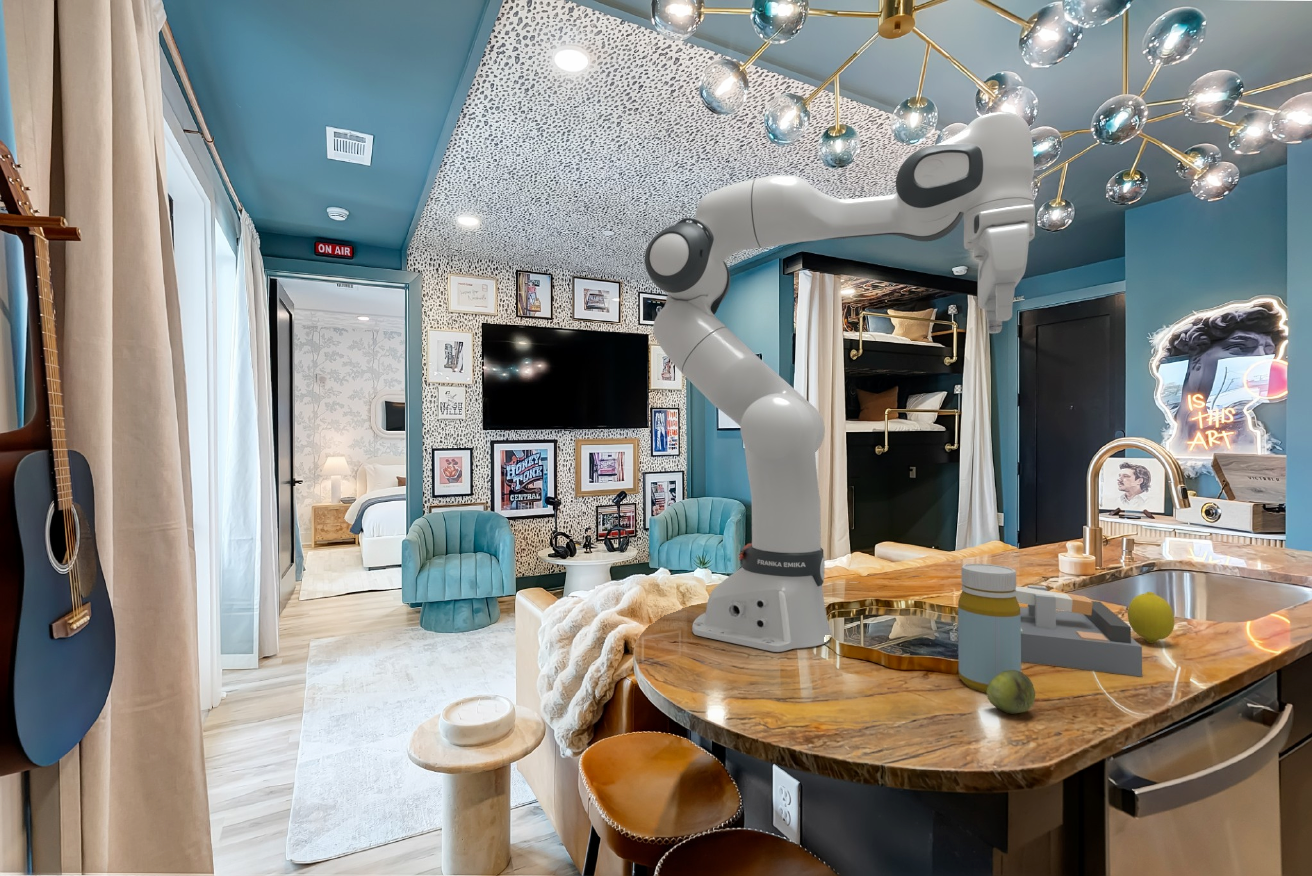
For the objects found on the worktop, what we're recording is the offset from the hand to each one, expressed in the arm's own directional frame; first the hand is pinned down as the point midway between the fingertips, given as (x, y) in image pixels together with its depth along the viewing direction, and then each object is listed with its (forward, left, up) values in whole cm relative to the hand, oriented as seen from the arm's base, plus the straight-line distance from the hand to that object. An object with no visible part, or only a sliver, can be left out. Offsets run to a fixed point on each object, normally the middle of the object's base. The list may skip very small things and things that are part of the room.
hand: (999, 326), depth 84 cm
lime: (-1, -18, -48) cm, 51 cm away
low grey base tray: (+6, +9, -48) cm, 49 cm away
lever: (+6, +9, -40) cm, 42 cm away
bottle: (-3, -10, -48) cm, 49 cm away
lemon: (+22, +18, -48) cm, 56 cm away
